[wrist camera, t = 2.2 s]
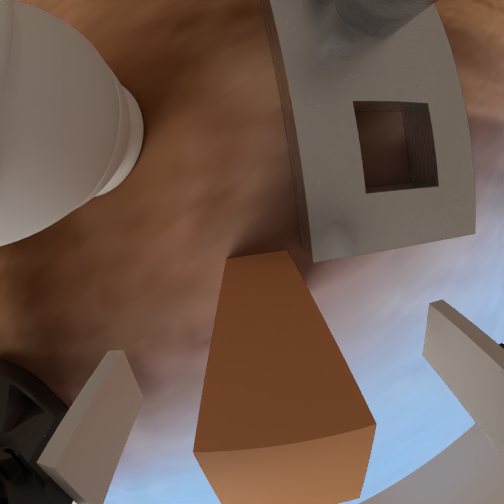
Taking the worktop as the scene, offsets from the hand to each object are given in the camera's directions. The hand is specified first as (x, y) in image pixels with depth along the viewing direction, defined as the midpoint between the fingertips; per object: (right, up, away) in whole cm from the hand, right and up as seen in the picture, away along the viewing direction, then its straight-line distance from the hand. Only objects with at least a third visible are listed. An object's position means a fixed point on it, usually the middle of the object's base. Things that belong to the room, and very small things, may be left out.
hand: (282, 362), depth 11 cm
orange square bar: (-1, +2, +9) cm, 9 cm away
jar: (-12, +12, +6) cm, 18 cm away
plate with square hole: (+6, +16, +5) cm, 18 cm away
